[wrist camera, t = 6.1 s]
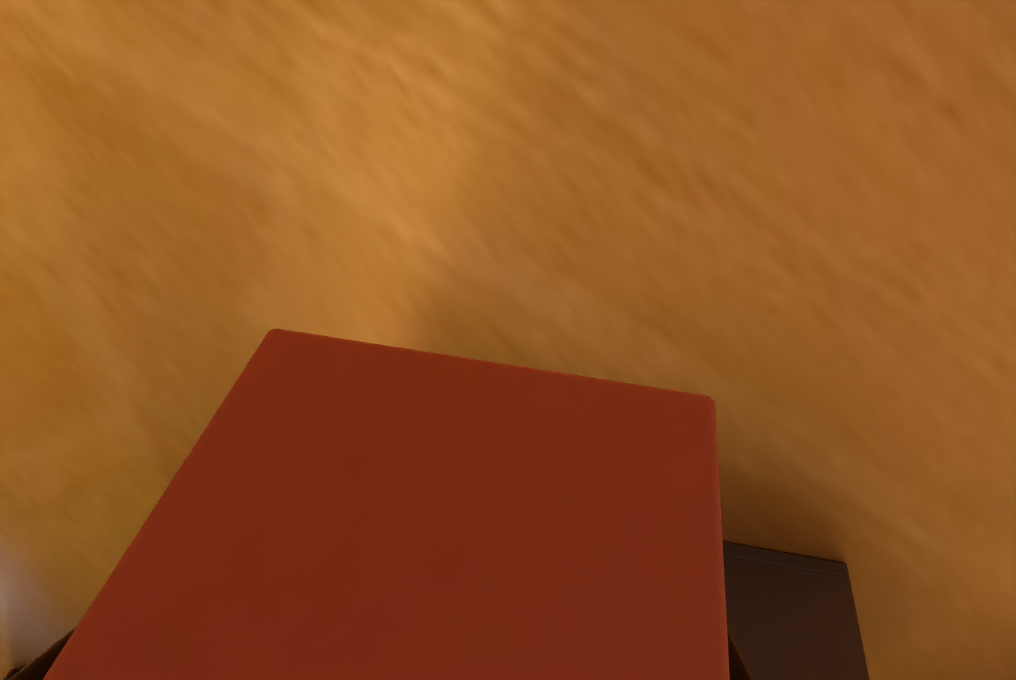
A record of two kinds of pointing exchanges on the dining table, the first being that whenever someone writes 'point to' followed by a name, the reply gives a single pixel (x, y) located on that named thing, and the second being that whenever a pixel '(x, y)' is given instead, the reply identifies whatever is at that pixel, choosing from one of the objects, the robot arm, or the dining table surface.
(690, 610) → the block
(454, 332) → the dining table surface
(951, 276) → the dining table surface
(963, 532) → the dining table surface
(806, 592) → the carton
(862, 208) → the dining table surface
